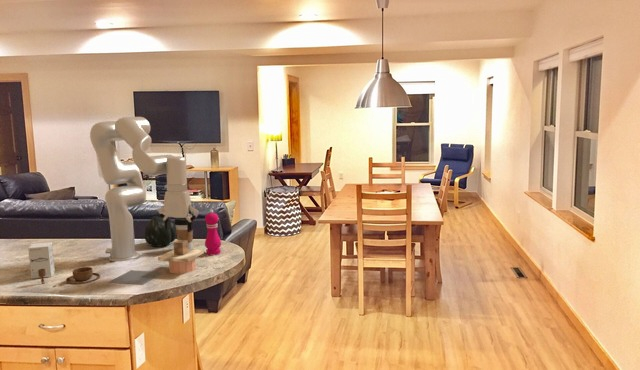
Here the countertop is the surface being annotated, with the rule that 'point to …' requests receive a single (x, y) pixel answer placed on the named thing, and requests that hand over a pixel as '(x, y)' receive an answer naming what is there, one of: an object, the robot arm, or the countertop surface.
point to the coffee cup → (183, 231)
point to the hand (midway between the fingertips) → (179, 230)
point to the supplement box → (41, 259)
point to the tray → (136, 277)
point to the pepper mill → (212, 234)
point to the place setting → (74, 275)
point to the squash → (159, 232)
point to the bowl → (181, 266)
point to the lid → (181, 252)
